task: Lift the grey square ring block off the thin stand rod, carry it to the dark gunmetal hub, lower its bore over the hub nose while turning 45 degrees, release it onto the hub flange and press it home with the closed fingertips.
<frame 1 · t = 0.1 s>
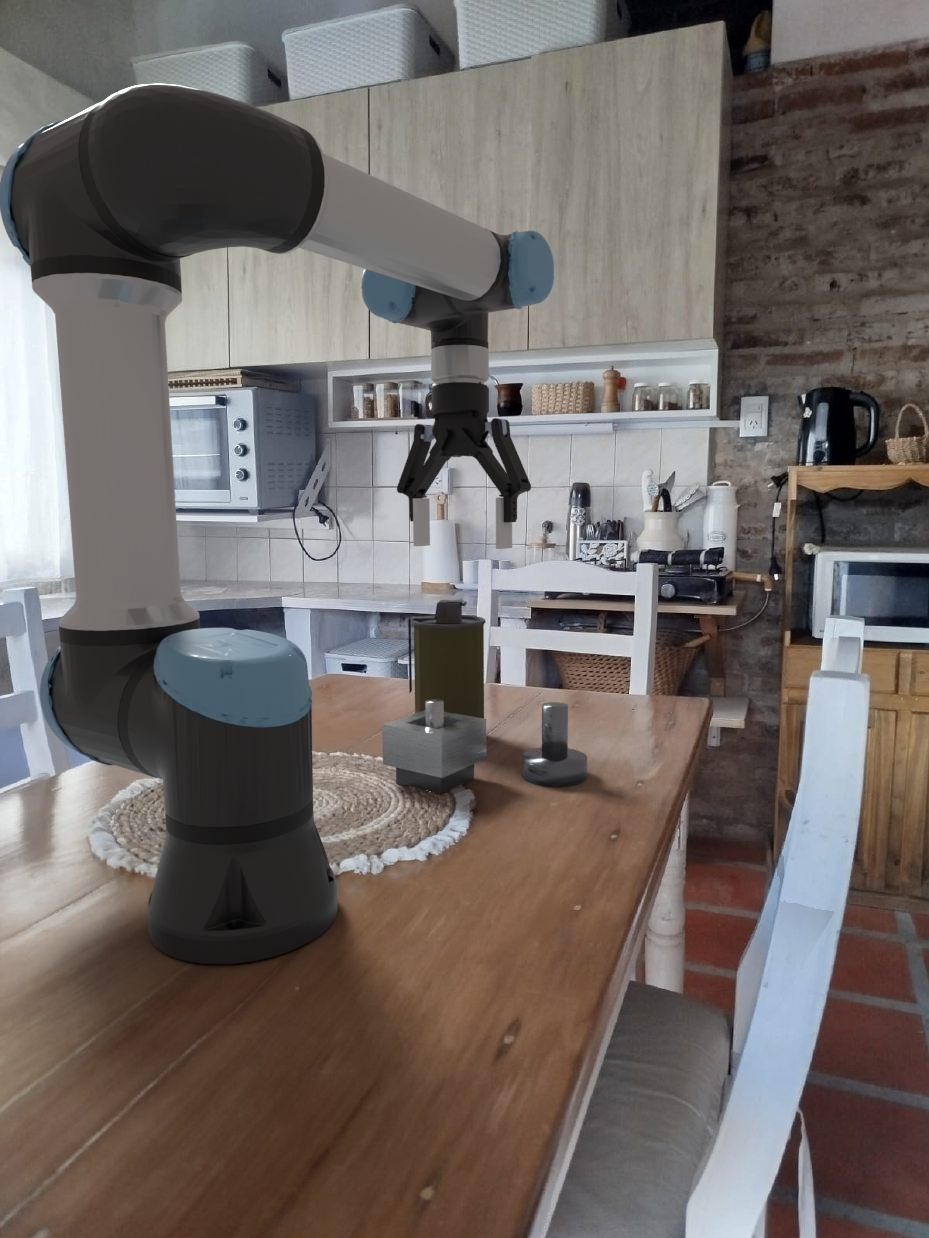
hand: (461, 547, 113), 28 cm above the table, fingers open, 13 cm apart
grey square ring block: (435, 761, 103), point 2 cm above the table, touching stand
canister: (448, 739, 122), on the table
hub: (554, 775, 105), on the table
stand: (435, 781, 103), on the table
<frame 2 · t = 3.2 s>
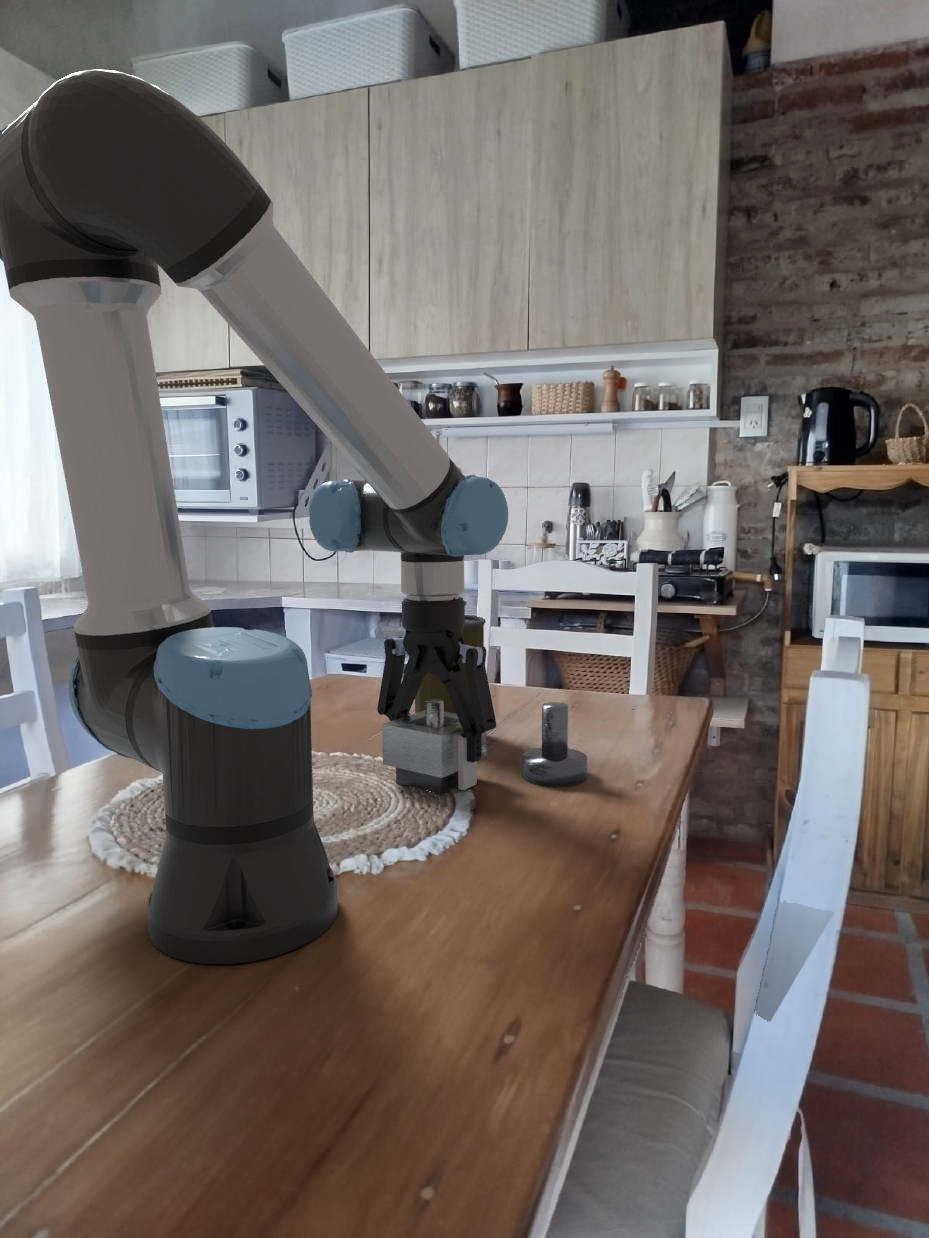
hand: (435, 778, 103), 0 cm above the table, fingers closed on grey square ring block, 9 cm apart
grey square ring block: (435, 761, 103), point 3 cm above the table, touching gripper, stand
everything else where it was.
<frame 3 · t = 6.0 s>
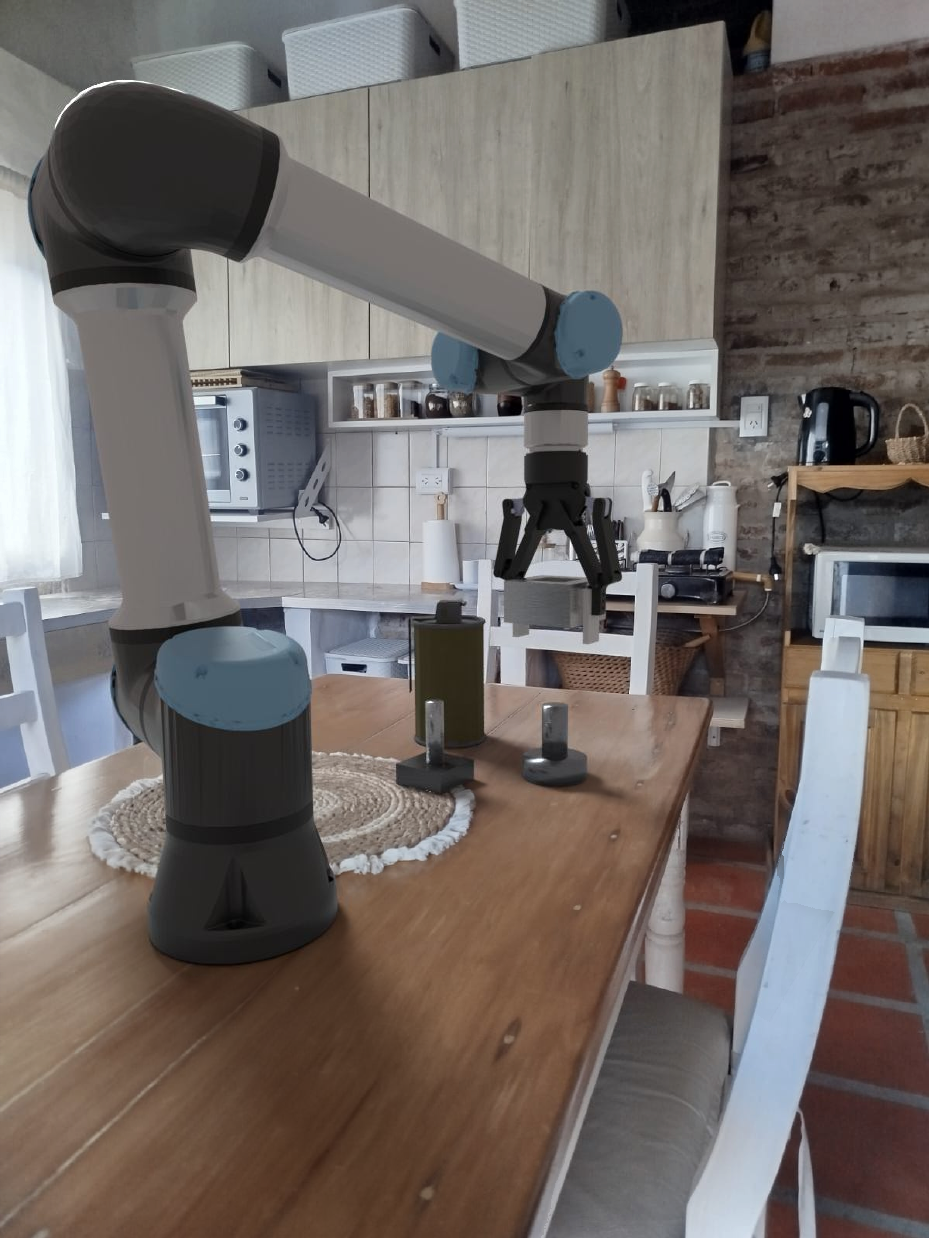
hand: (555, 638, 103), 17 cm above the table, fingers closed on grey square ring block, 9 cm apart
grey square ring block: (555, 620, 102), point 20 cm above the table, touching gripper
everything else where it was.
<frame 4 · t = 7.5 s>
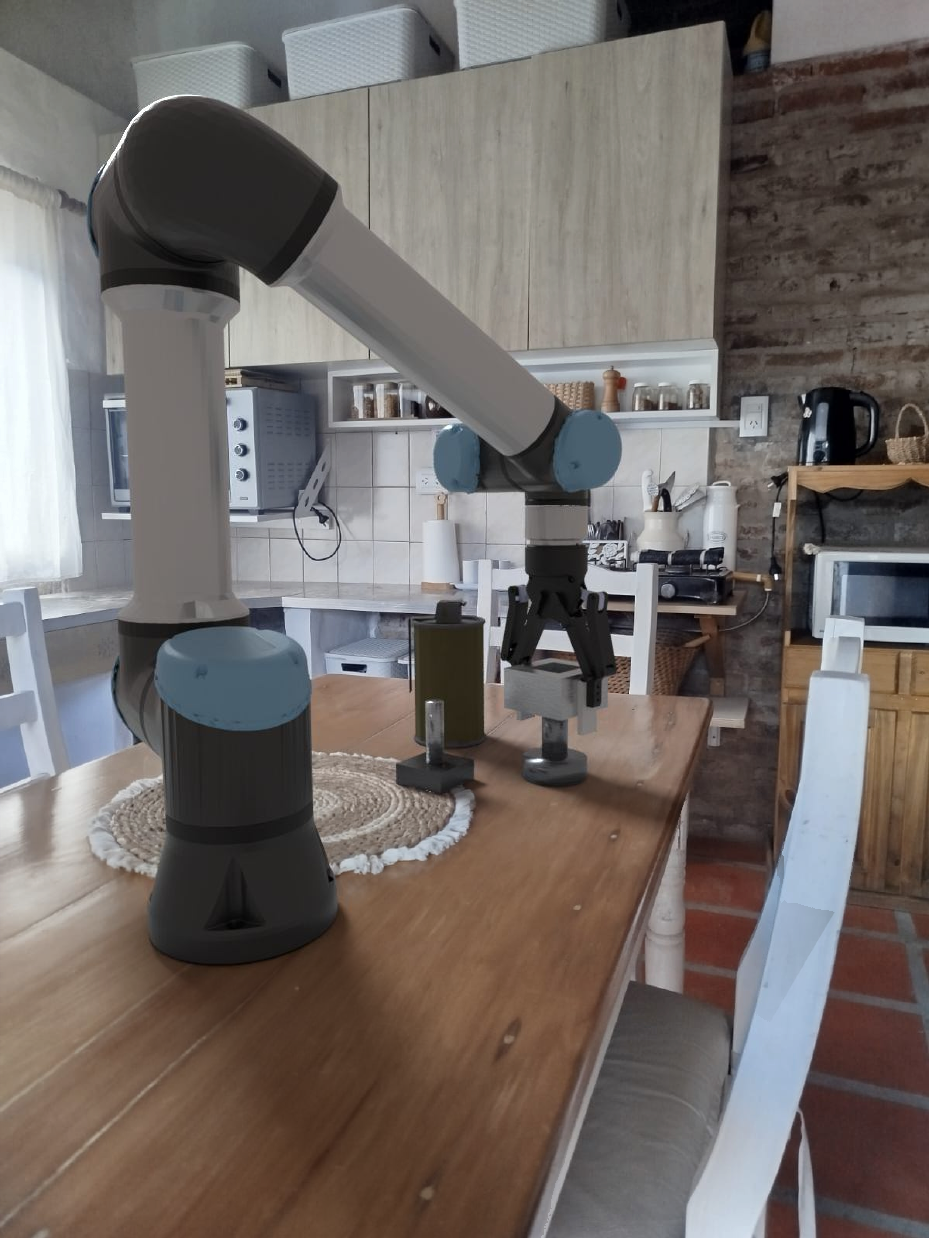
hand: (555, 725, 104), 6 cm above the table, fingers closed on grey square ring block, 9 cm apart
grey square ring block: (555, 707, 104), point 9 cm above the table, touching gripper
everything else where it was.
when the fingers open (2 cm above the table, at t = 8.8 s): grey square ring block drops 2 cm, resting on hub.
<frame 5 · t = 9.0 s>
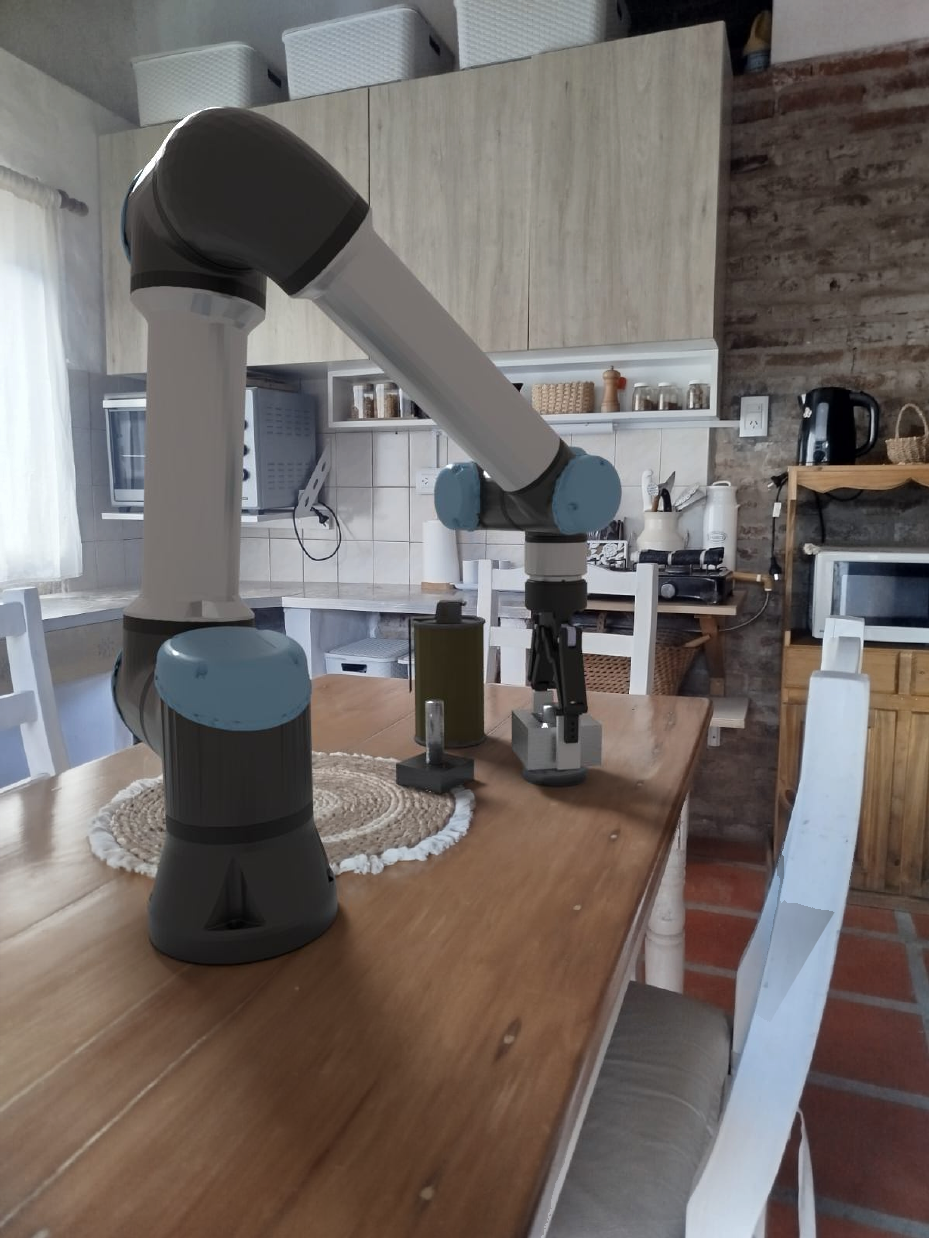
hand: (554, 753, 105), 3 cm above the table, fingers open, 11 cm apart
grey square ring block: (554, 756, 105), point 2 cm above the table, touching hub
everything else where it was.
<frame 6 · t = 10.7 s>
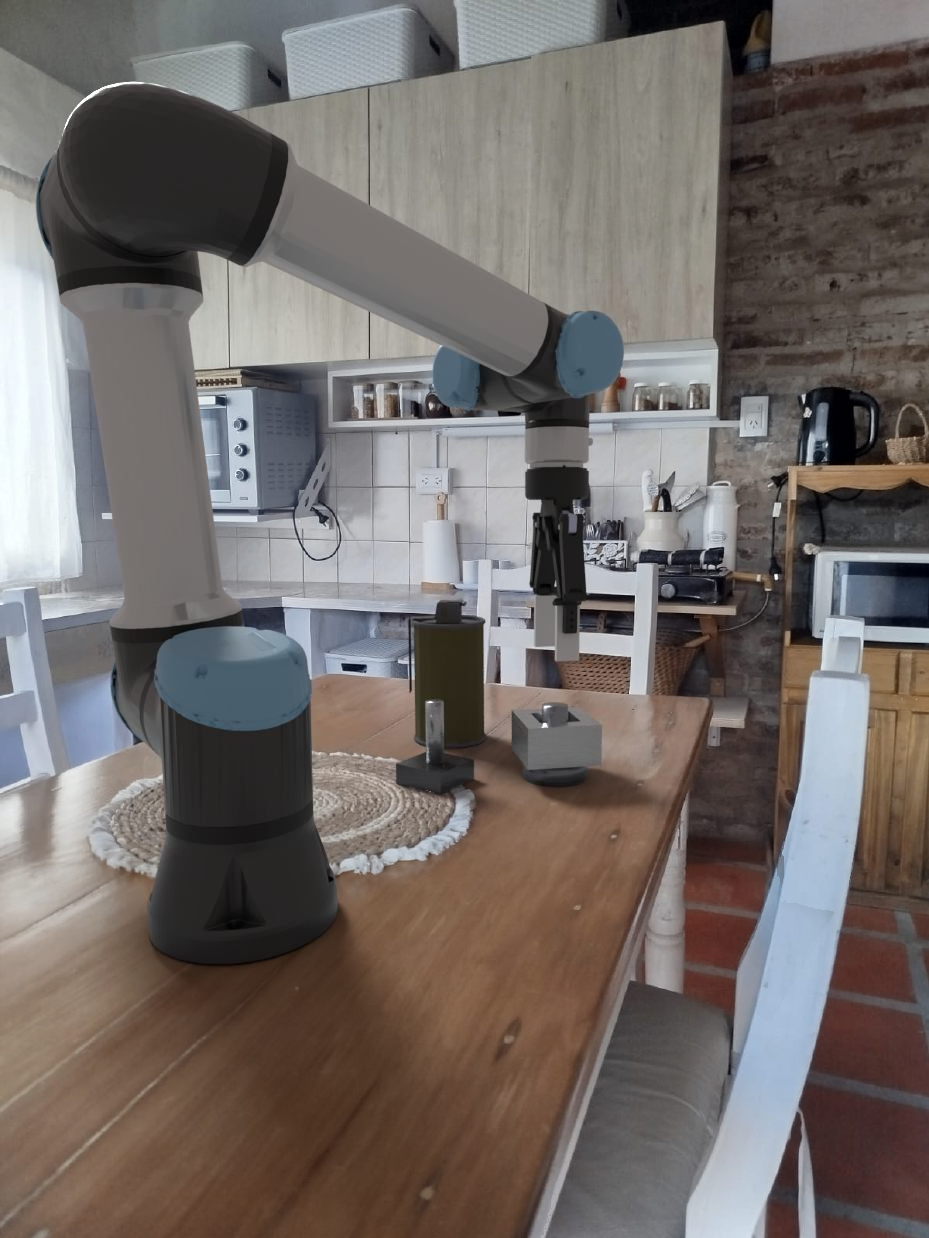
hand: (555, 652, 103), 16 cm above the table, fingers open, 9 cm apart
nothing on the table moved.
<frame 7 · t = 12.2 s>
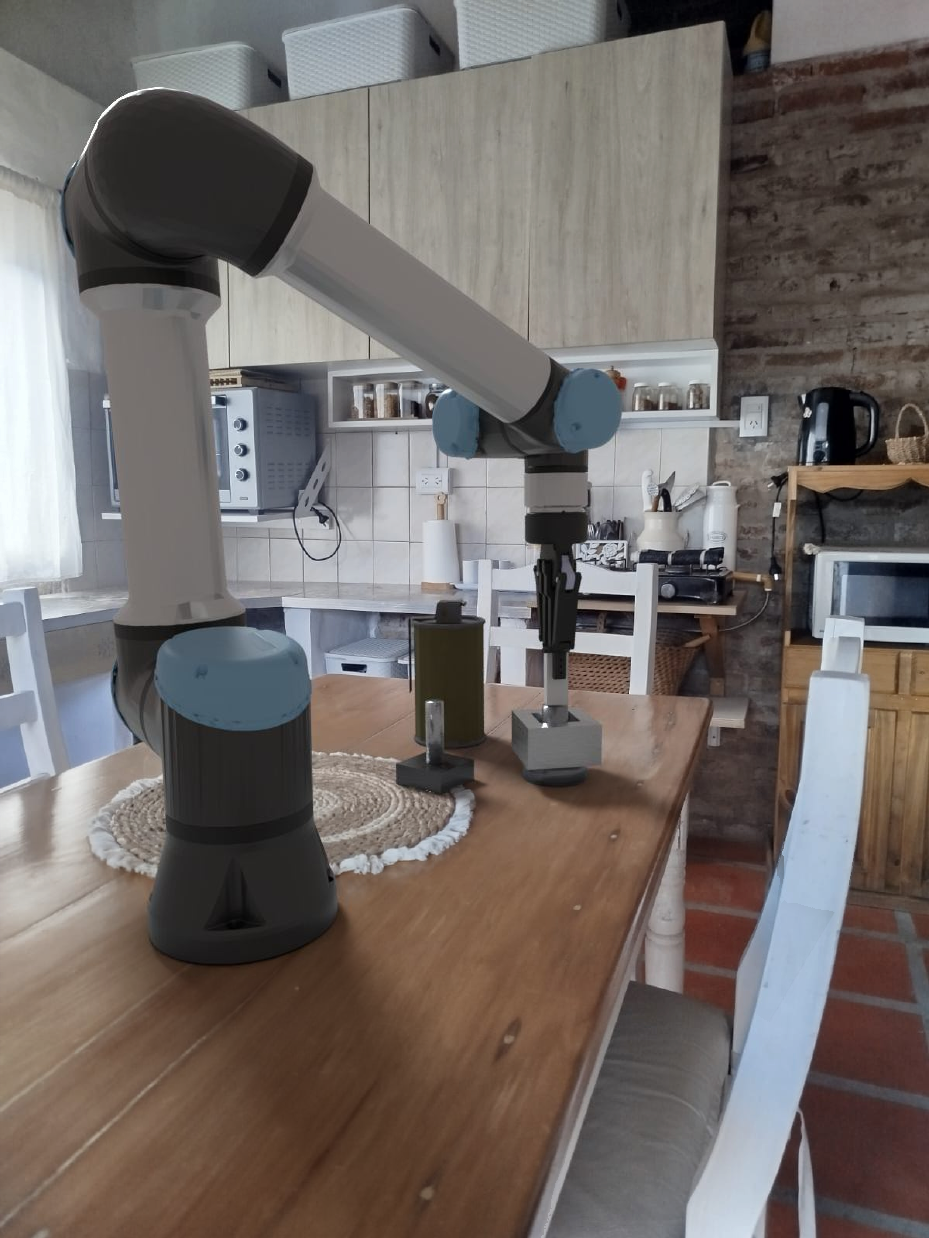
hand: (556, 703, 104), 9 cm above the table, fingers closed
nothing on the table moved.
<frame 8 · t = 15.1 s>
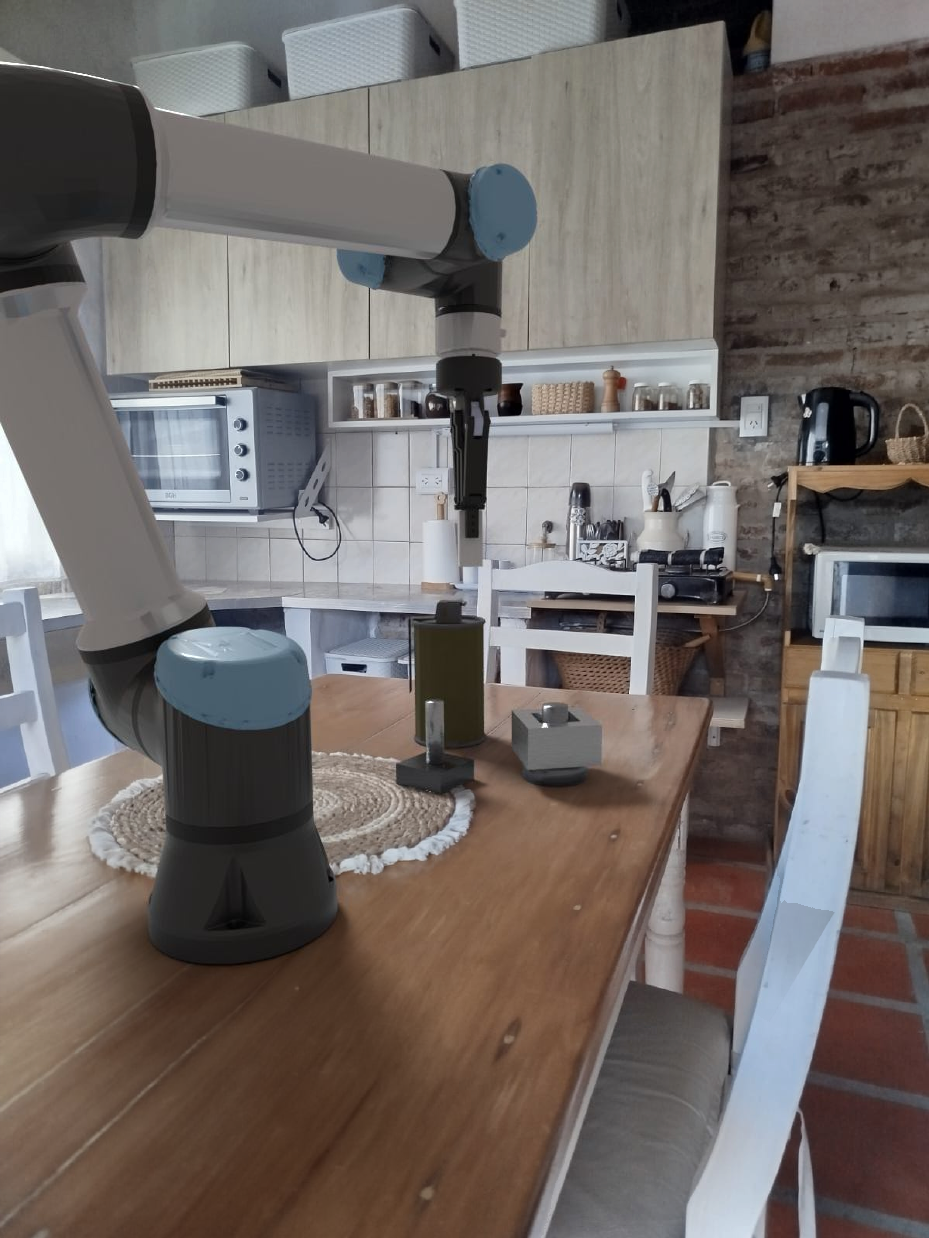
hand: (470, 566, 99), 26 cm above the table, fingers closed
nothing on the table moved.
at the end: grey square ring block 0.0 cm off-centre on the hub, point 2.5 cm above the hub's base; grey square ring block tilted 0°; the gripper is holding nothing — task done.
